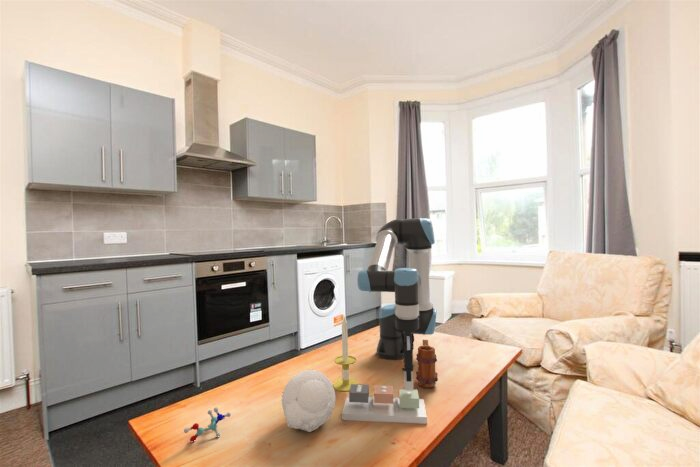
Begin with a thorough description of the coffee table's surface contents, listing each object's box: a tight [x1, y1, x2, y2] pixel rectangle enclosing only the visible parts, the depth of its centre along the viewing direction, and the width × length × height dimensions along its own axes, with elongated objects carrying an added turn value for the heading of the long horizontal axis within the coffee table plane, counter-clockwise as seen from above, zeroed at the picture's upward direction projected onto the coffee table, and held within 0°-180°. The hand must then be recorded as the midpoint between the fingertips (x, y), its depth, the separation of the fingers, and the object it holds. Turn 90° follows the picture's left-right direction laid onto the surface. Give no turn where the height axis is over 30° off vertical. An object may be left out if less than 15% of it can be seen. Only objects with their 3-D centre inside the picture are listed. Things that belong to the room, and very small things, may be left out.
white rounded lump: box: [281, 369, 336, 433], centre depth 101 cm, size 20×18×16 cm
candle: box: [332, 316, 359, 392], centre depth 127 cm, size 10×10×27 cm
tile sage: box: [398, 388, 420, 408], centre depth 106 cm, size 6×6×3 cm
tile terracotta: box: [373, 384, 394, 404], centre depth 107 cm, size 6×6×3 cm
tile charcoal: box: [348, 383, 370, 403], centre depth 108 cm, size 6×6×3 cm
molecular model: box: [183, 407, 232, 442], centre depth 96 cm, size 12×10×10 cm
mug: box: [415, 339, 439, 389], centre depth 128 cm, size 15×8×15 cm, turn 168°
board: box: [341, 395, 428, 425], centre depth 107 cm, size 11×26×3 cm, turn 83°
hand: (408, 389), depth 107 cm, fingers closed
